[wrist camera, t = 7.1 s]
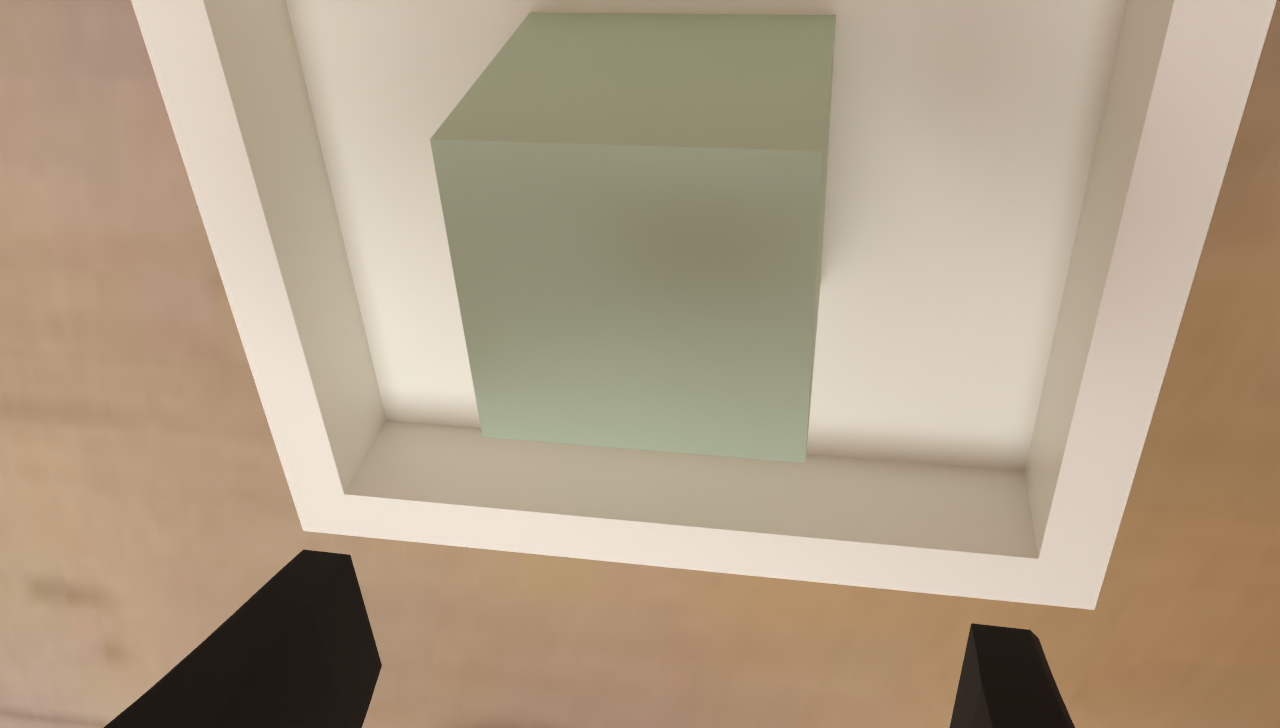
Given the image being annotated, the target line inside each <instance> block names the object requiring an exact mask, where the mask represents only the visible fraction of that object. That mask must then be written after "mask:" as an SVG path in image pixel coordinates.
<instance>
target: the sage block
mask: <svg viewBox="0 0 1280 728" xmlns="http://www.w3.org/2000/svg"><path fill="white" fill-rule="evenodd" d="M835 24H836V15H771V14H655V13H540V12H530V13H529V14H528V16H527V17H526V18H525V19H524V21H523V22H522V23H521V24H520V26H519V27H518V28H517V29H516V31H515V32H514V33H513V35H512V36H511V37H510V38H509V40H508V41H507V42H506V43H505V45H504V46H503V47H502V48H501V50H500V51H499V52H498V54H497V55H496V56H495V57H494V59H493V60H492V61H491V62H490V64H489V65H488V66H487V67H486V69H485V70H484V71H483V73H482V74H481V75H480V76H479V78H478V79H477V80H476V81H475V83H474V84H473V85H472V86H471V88H470V89H469V90H468V92H467V93H466V94H465V95H464V97H463V98H462V99H461V100H460V102H459V103H458V104H457V105H456V107H455V108H454V109H453V111H452V112H451V113H450V114H449V116H448V117H447V118H446V119H445V121H444V122H443V123H442V124H441V126H440V127H439V128H438V130H437V131H436V132H435V133H434V135H433V136H432V137H431V138H430V143H431V149H432V155H433V160H434V166H435V172H436V177H437V183H438V189H439V194H440V200H441V205H442V211H443V217H444V222H445V228H446V234H447V239H448V245H449V251H450V256H451V262H452V268H453V273H454V279H455V285H456V290H457V296H458V301H459V307H460V313H461V318H462V324H463V330H464V335H465V341H466V347H467V352H468V358H469V364H470V369H471V375H472V381H473V386H474V392H475V397H476V403H477V409H478V414H479V420H480V426H481V431H482V437H487V438H500V439H512V440H525V441H537V442H550V443H562V444H575V445H587V446H600V447H612V448H625V449H637V450H650V451H662V452H675V453H687V454H700V455H712V456H725V457H737V458H750V459H762V460H775V461H787V462H800V463H806V452H807V440H808V428H809V416H810V404H811V392H812V380H813V368H814V356H815V344H816V332H817V320H818V308H819V296H820V284H821V266H822V249H823V232H824V215H825V197H826V180H827V163H828V145H829V128H830V111H831V94H832V76H833V59H834V42H835Z"/></svg>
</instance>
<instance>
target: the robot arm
mask: <svg viewBox="0 0 1280 728" xmlns="http://www.w3.org/2000/svg"><path fill="white" fill-rule="evenodd" d="M381 666H382V665H381V661H380V658H379V654H378V651H377V647H376V644H375V640H374V637H373V633H372V629H371V626H370V622H369V619H368V615H367V612H366V608H365V605H364V601H363V598H362V594H361V591H360V587H359V584H358V580H357V577H356V573H355V570H354V566H353V563H352V559H351V556H350V555H346V554H337V553H328V552H319V551H310V550H303V551H301V552H300V553H299V554H298V555H297V556H296V557H295V558H294V559H292V560H291V561H290V562H289V563H288V564H287V565H286V566H285V567H284V568H282V569H281V570H280V571H279V572H278V573H277V574H276V575H275V576H274V577H273V578H271V579H270V580H269V581H268V582H267V583H266V584H265V585H264V586H263V587H262V588H261V589H260V590H259V591H257V592H256V593H255V594H254V595H253V596H252V597H251V598H250V599H249V600H248V601H247V602H246V603H245V604H243V605H242V606H241V607H240V608H239V609H238V610H237V611H236V612H235V613H234V614H233V615H232V616H231V617H229V618H228V619H227V620H226V621H225V622H224V623H223V624H222V625H221V626H220V627H219V628H218V629H216V630H215V631H214V632H213V633H212V634H211V635H210V636H209V637H208V638H207V639H206V640H204V641H203V642H202V643H201V644H200V645H199V646H198V647H197V648H196V649H194V650H193V651H192V652H191V653H190V654H189V655H188V656H187V657H185V658H184V659H183V660H182V661H181V662H180V663H179V664H178V665H176V666H175V667H174V668H173V669H172V670H171V671H170V672H169V673H167V674H166V675H165V676H164V677H163V678H162V679H161V680H160V681H158V682H157V683H156V684H155V685H154V686H153V687H152V688H151V689H149V690H148V691H147V692H146V693H145V694H144V695H142V696H141V697H140V698H139V699H138V700H137V701H135V702H134V703H133V704H132V705H130V706H129V707H128V708H127V709H126V710H124V711H123V712H122V713H121V714H120V715H118V716H117V717H116V718H115V719H113V720H112V721H111V722H110V723H109V724H107V725H106V726H105V727H104V728H362V725H363V722H364V719H365V716H366V713H367V710H368V707H369V704H370V701H371V698H372V695H373V692H374V688H375V685H376V682H377V679H378V676H379V672H380V669H381ZM950 728H1075V726H1074V724H1073V722H1072V720H1071V718H1070V716H1069V713H1068V711H1067V709H1066V706H1065V704H1064V702H1063V700H1062V697H1061V695H1060V693H1059V690H1058V688H1057V685H1056V683H1055V680H1054V678H1053V675H1052V673H1051V670H1050V668H1049V665H1048V663H1047V660H1046V658H1045V655H1044V652H1043V649H1042V646H1041V644H1040V641H1039V638H1038V637H1037V636H1036V635H1035V634H1034V633H1033V632H1032V631H1031V630H1025V629H1016V628H1007V627H998V626H989V625H980V624H971V628H970V632H969V637H968V642H967V647H966V652H965V657H964V661H963V666H962V671H961V676H960V681H959V685H958V690H957V695H956V700H955V705H954V710H953V714H952V719H951V724H950Z"/></svg>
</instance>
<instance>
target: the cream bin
mask: <svg viewBox="0 0 1280 728" xmlns="http://www.w3.org/2000/svg"><path fill="white" fill-rule="evenodd" d="M131 1H132V5H133V8H134V11H135V14H136V17H137V20H138V23H139V26H140V29H141V32H142V35H143V38H144V42H145V45H146V48H147V51H148V54H149V57H150V60H151V63H152V66H153V69H154V72H155V75H156V79H157V82H158V85H159V88H160V91H161V94H162V97H163V100H164V103H165V106H166V109H167V112H168V115H169V119H170V122H171V125H172V128H173V131H174V134H175V137H176V140H177V143H178V146H179V149H180V152H181V156H182V159H183V162H184V165H185V168H186V171H187V174H188V177H189V180H190V183H191V186H192V189H193V192H194V196H195V199H196V202H197V205H198V208H199V211H200V214H201V217H202V220H203V223H204V226H205V229H206V233H207V236H208V239H209V242H210V245H211V248H212V251H213V254H214V257H215V260H216V263H217V266H218V269H219V273H220V276H221V279H222V282H223V285H224V288H225V291H226V294H227V297H228V300H229V303H230V306H231V310H232V313H233V316H234V319H235V322H236V325H237V328H238V331H239V334H240V337H241V340H242V343H243V346H244V350H245V353H246V356H247V359H248V362H249V365H250V368H251V371H252V374H253V377H254V380H255V383H256V387H257V390H258V393H259V396H260V399H261V402H262V405H263V408H264V411H265V414H266V417H267V420H268V423H269V427H270V430H271V433H272V436H273V439H274V442H275V445H276V448H277V451H278V454H279V457H280V460H281V464H282V467H283V470H284V473H285V476H286V479H287V482H288V485H289V488H290V491H291V494H292V497H293V500H294V504H295V507H296V510H297V513H298V516H299V519H300V522H301V525H302V528H303V531H310V532H320V533H330V534H340V535H350V536H360V537H370V538H380V539H390V540H400V541H410V542H420V543H430V544H440V545H450V546H460V547H470V548H480V549H491V550H501V551H511V552H521V553H531V554H541V555H551V556H561V557H571V558H581V559H591V560H601V561H611V562H621V563H631V564H641V565H651V566H661V567H671V568H681V569H691V570H701V571H711V572H721V573H731V574H741V575H751V576H761V577H771V578H781V579H791V580H801V581H811V582H821V583H831V584H841V585H851V586H861V587H871V588H881V589H891V590H901V591H911V592H921V593H931V594H941V595H951V596H961V597H971V598H981V599H991V600H1001V601H1011V602H1021V603H1031V604H1041V605H1051V606H1061V607H1071V608H1081V609H1091V610H1094V609H1095V606H1096V603H1097V599H1098V596H1099V593H1100V589H1101V586H1102V583H1103V579H1104V576H1105V573H1106V569H1107V566H1108V563H1109V559H1110V556H1111V553H1112V549H1113V546H1114V542H1115V539H1116V536H1117V532H1118V529H1119V526H1120V522H1121V519H1122V516H1123V512H1124V509H1125V506H1126V502H1127V499H1128V496H1129V492H1130V489H1131V486H1132V482H1133V479H1134V476H1135V472H1136V469H1137V466H1138V462H1139V459H1140V456H1141V452H1142V449H1143V446H1144V442H1145V439H1146V436H1147V432H1148V429H1149V425H1150V422H1151V419H1152V415H1153V412H1154V409H1155V405H1156V402H1157V399H1158V395H1159V392H1160V389H1161V385H1162V382H1163V379H1164V375H1165V372H1166V369H1167V365H1168V362H1169V359H1170V355H1171V352H1172V349H1173V345H1174V342H1175V339H1176V335H1177V332H1178V329H1179V325H1180V322H1181V319H1182V315H1183V312H1184V309H1185V305H1186V302H1187V298H1188V295H1189V292H1190V288H1191V285H1192V282H1193V278H1194V275H1195V272H1196V268H1197V265H1198V262H1199V258H1200V255H1201V252H1202V248H1203V245H1204V242H1205V238H1206V235H1207V232H1208V228H1209V225H1210V222H1211V218H1212V215H1213V212H1214V208H1215V205H1216V202H1217V198H1218V195H1219V192H1220V188H1221V185H1222V181H1223V178H1224V175H1225V171H1226V168H1227V165H1228V161H1229V158H1230V155H1231V151H1232V148H1233V145H1234V141H1235V138H1236V135H1237V131H1238V128H1239V125H1240V121H1241V118H1242V115H1243V111H1244V108H1245V105H1246V101H1247V98H1248V95H1249V91H1250V88H1251V85H1252V81H1253V78H1254V75H1255V71H1256V68H1257V65H1258V61H1259V58H1260V54H1261V51H1262V48H1263V44H1264V41H1265V38H1266V34H1267V31H1268V28H1269V24H1270V21H1271V18H1272V14H1273V11H1274V8H1275V4H1276V1H1277V0H131ZM530 12H540V13H655V14H771V15H836V24H835V42H834V59H833V76H832V94H831V111H830V128H829V145H828V163H827V180H826V197H825V215H824V232H823V249H822V266H821V284H820V296H819V308H818V320H817V332H816V344H815V356H814V368H813V380H812V392H811V404H810V416H809V428H808V440H807V452H806V463H800V462H787V461H775V460H762V459H750V458H737V457H725V456H712V455H700V454H687V453H675V452H662V451H650V450H637V449H625V448H612V447H600V446H587V445H575V444H562V443H550V442H537V441H525V440H512V439H500V438H487V437H482V431H481V426H480V420H479V414H478V409H477V403H476V397H475V392H474V386H473V381H472V375H471V369H470V364H469V358H468V352H467V347H466V341H465V335H464V330H463V324H462V318H461V313H460V307H459V301H458V296H457V290H456V285H455V279H454V273H453V268H452V262H451V256H450V251H449V245H448V239H447V234H446V228H445V222H444V217H443V211H442V205H441V200H440V194H439V189H438V183H437V177H436V172H435V166H434V160H433V155H432V149H431V143H430V138H431V137H432V136H433V135H434V133H435V132H436V131H437V130H438V128H439V127H440V126H441V124H442V123H443V122H444V121H445V119H446V118H447V117H448V116H449V114H450V113H451V112H452V111H453V109H454V108H455V107H456V105H457V104H458V103H459V102H460V100H461V99H462V98H463V97H464V95H465V94H466V93H467V92H468V90H469V89H470V88H471V86H472V85H473V84H474V83H475V81H476V80H477V79H478V78H479V76H480V75H481V74H482V73H483V71H484V70H485V69H486V67H487V66H488V65H489V64H490V62H491V61H492V60H493V59H494V57H495V56H496V55H497V54H498V52H499V51H500V50H501V48H502V47H503V46H504V45H505V43H506V42H507V41H508V40H509V38H510V37H511V36H512V35H513V33H514V32H515V31H516V29H517V28H518V27H519V26H520V24H521V23H522V22H523V21H524V19H525V18H526V17H527V16H528V14H529V13H530Z"/></svg>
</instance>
